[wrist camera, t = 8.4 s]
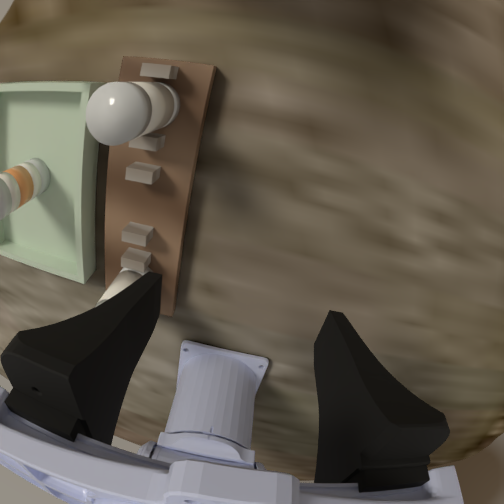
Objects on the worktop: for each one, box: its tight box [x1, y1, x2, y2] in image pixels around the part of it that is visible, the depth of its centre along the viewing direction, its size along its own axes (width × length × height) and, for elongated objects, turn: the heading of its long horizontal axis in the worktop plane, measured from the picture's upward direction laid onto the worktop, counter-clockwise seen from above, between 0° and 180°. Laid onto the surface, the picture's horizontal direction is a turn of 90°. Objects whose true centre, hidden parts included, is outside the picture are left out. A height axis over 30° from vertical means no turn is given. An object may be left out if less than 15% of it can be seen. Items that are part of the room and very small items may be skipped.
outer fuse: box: [86, 82, 180, 146], centre depth 15 cm, size 3×3×6 cm
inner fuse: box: [94, 267, 153, 308], centre depth 21 cm, size 3×3×6 cm
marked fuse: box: [0, 158, 50, 220], centre depth 18 cm, size 3×3×6 cm
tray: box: [0, 81, 107, 284], centre depth 20 cm, size 15×11×2 cm
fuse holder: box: [105, 56, 217, 317], centre depth 21 cm, size 19×6×2 cm, turn 167°
